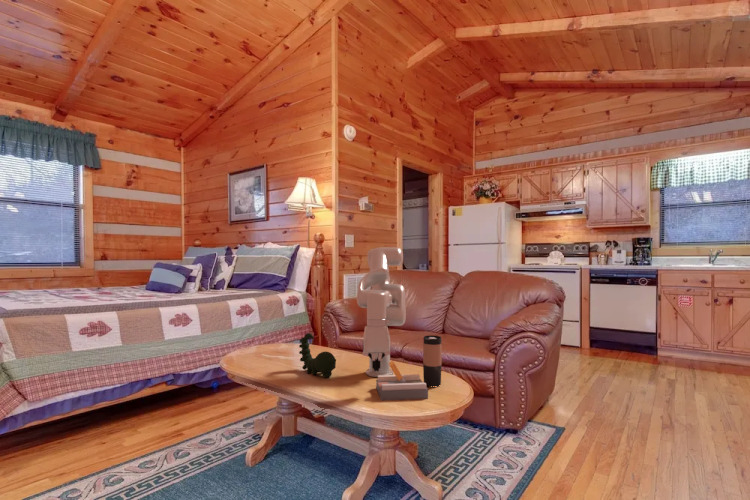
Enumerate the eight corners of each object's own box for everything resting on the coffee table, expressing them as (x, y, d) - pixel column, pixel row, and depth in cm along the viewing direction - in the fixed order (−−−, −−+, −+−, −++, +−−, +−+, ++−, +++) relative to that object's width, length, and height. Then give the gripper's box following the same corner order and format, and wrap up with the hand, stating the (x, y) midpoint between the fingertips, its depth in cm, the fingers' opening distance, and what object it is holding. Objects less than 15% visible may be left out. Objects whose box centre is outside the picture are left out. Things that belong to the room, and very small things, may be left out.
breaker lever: (399, 382, 160) (387, 363, 160) (404, 379, 160) (392, 360, 160) (401, 386, 156) (389, 366, 155) (406, 383, 156) (394, 363, 156)
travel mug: (439, 381, 173) (439, 335, 173) (443, 387, 165) (443, 338, 165) (421, 381, 172) (422, 335, 173) (424, 387, 165) (424, 338, 165)
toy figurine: (295, 374, 187) (328, 381, 170) (293, 333, 189) (326, 336, 171) (311, 370, 194) (345, 377, 176) (310, 331, 195) (343, 333, 178)
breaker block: (376, 388, 164) (376, 375, 164) (419, 386, 166) (419, 373, 166) (381, 400, 150) (381, 386, 150) (428, 398, 152) (428, 384, 152)
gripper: (393, 321, 162) (393, 367, 161) (356, 322, 160) (356, 368, 159) (397, 324, 154) (396, 372, 154) (358, 325, 152) (357, 373, 152)
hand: (376, 370), depth 157 cm, fingers closed
